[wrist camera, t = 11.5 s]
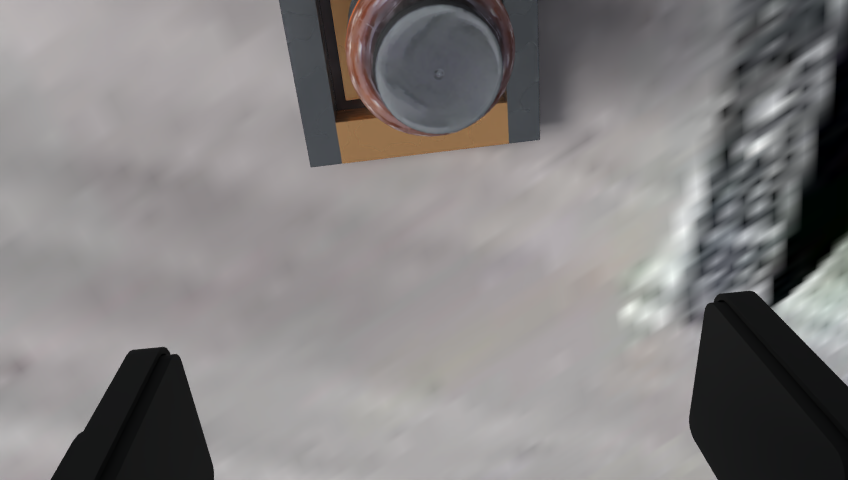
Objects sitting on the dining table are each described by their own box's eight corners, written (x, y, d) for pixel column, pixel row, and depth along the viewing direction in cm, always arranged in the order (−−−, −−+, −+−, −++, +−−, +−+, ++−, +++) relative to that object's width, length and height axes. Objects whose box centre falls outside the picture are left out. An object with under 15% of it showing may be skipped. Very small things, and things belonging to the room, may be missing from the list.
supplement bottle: (453, 98, 32) (493, 188, 22) (334, 61, 31) (318, 138, 21) (497, -27, 29) (566, 10, 19) (370, -73, 28) (372, -60, 18)
